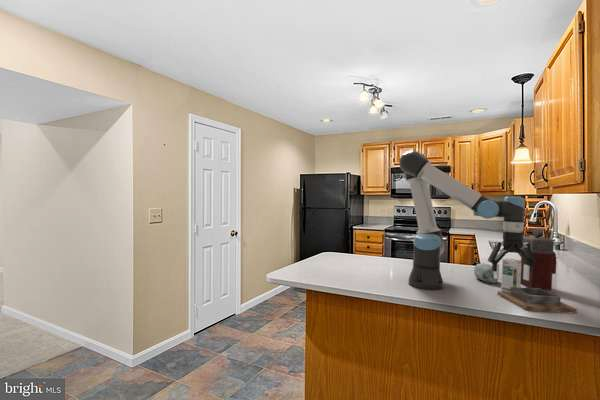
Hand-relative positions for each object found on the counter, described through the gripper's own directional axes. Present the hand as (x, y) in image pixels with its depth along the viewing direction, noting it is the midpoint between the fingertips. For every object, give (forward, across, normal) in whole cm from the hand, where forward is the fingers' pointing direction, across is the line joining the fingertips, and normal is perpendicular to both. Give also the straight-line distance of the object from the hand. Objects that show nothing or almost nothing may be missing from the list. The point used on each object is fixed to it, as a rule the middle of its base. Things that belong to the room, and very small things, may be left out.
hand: (511, 279), depth 138 cm
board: (+5, 0, -15) cm, 16 cm away
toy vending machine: (+6, +18, +9) cm, 21 cm away
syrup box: (+6, 0, 0) cm, 6 cm away
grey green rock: (+6, -2, +17) cm, 18 cm away
